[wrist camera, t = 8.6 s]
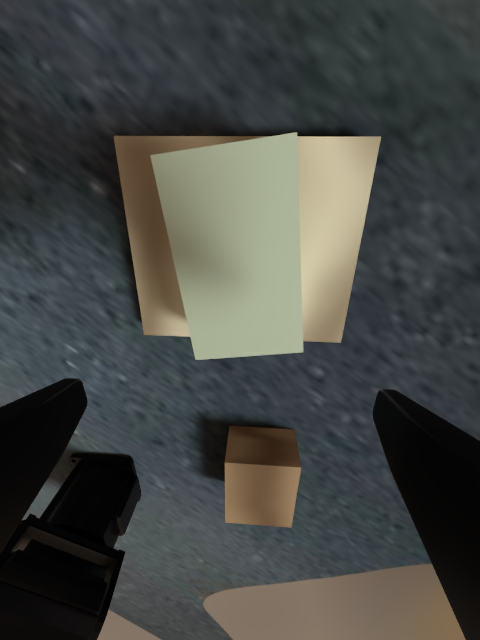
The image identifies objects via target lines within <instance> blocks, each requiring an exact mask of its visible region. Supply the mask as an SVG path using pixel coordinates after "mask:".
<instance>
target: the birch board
mask: <svg viewBox="0 0 480 640" xmlns="http://www.w3.org/2000/svg"><path fill="white" fill-rule="evenodd" d="M263 137H270V136H114V142H115V148H116V155H117V161H118V168H119V174H120V181H121V187H122V194H123V200H124V207H125V213H126V220H127V226H128V233H129V239H130V246H131V252H132V259H133V265H134V272H135V278H136V285H137V291H138V298H139V304H140V311H141V317H142V324H143V330H144V335H161V336H187V337H190V332H189V328H188V323H187V319H186V314H185V310H184V305H183V301H182V296H181V292H180V287H179V283H178V278H177V274H176V269H175V265H174V260H173V256H172V251H171V247H170V242H169V238H168V233H167V229H166V224H165V220H164V215H163V211H162V206H161V202H160V197H159V193H158V188H157V184H156V179H155V175H154V170H153V166H152V161H151V157H150V155H155V154H162V153H168V152H174V151H181V150H187V149H193V148H200V147H206V146H212V145H219V144H225V143H232V142H238V141H244V140H251V139H257V138H263ZM380 140H381V137H316V136H297V145H298V181H299V217H300V252H301V288H302V324H303V341H314V342H340V343H341V339H342V334H343V329H344V324H345V319H346V314H347V309H348V303H349V298H350V293H351V288H352V283H353V278H354V273H355V268H356V263H357V257H358V252H359V247H360V242H361V237H362V232H363V227H364V222H365V217H366V211H367V206H368V201H369V196H370V191H371V186H372V181H373V176H374V170H375V165H376V160H377V155H378V150H379V145H380Z"/></svg>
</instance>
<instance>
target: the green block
mask: <svg viewBox="0 0 480 640" xmlns="http://www.w3.org/2000/svg"><path fill="white" fill-rule="evenodd" d="M150 157H151V161H152V166H153V170H154V175H155V179H156V184H157V188H158V193H159V197H160V202H161V206H162V211H163V215H164V220H165V224H166V229H167V233H168V238H169V242H170V247H171V251H172V256H173V260H174V265H175V269H176V274H177V278H178V283H179V287H180V292H181V296H182V301H183V305H184V310H185V314H186V319H187V323H188V328H189V332H190V337H191V341H192V346H193V350H194V355H195V359H196V360H203V359H217V358H230V357H244V356H258V355H271V354H285V353H299V352H303V324H302V288H301V252H300V217H299V181H298V145H297V132H295V133H289V134H282V135H276V136H270V137H263V138H257V139H251V140H244V141H238V142H232V143H225V144H219V145H212V146H206V147H200V148H193V149H187V150H181V151H174V152H168V153H162V154H155V155H150Z"/></svg>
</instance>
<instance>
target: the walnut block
mask: <svg viewBox="0 0 480 640" xmlns="http://www.w3.org/2000/svg"><path fill="white" fill-rule="evenodd" d="M300 472H301V464H300V457H299V451H298V445H297V439H296V433H295V429H278V428H260V427H243V426H229V433H228V441H227V449H226V457H225V522H226V523H239V524H252V525H266V526H279V527H291V526H292V520H293V514H294V508H295V502H296V496H297V490H298V484H299V478H300Z"/></svg>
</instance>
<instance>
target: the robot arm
mask: <svg viewBox="0 0 480 640" xmlns="http://www.w3.org/2000/svg"><path fill="white" fill-rule="evenodd" d="M86 407H87V397H86V393H85V390H84V386H83V383H82V381H81V380H80V379H74V378H66V379H63V380H61V381H58V382H56V383H54V384H52V385H50V386H47V387H45V388H43V389H41V390H38V391H36V392H34V393H32V394H29V395H27V396H25V397H23V398H20V399H18V400H16V401H14V402H11V403H9V404H7V405H5V406H2V407H0V640H97V638H98V636H99V634H100V631H101V629H102V626H103V623H104V621H105V618H106V616H107V612H108V609H109V606H110V603H111V599H112V596H113V592H114V589H115V586H116V582H117V579H118V575H119V572H120V568H121V565H122V562H123V558H124V555H125V551H122V550H116V549H114V545H115V543H116V541H117V538H118V536H122V535H123V534H125V532H126V529H127V527H128V524H129V522H130V519H131V517H132V514H133V512H134V509H135V507H136V504H137V502H138V501H139V500H140V498H141V489H140V485H139V480H138V477H137V475H136V470H135V466H134V461H133V459H131V458H129V457H115V456H99V455H82V454H73V455H71V457H70V458H69V462H70V465H71V468H72V472H71V473H70V475H69V476H68V477H67V479H66V480H65V482H64V483H63V485H62V486H61V488H60V489H59V491H58V492H57V493H56V495H55V496H54V498H53V499H52V501H51V502H50V504H49V505H48V507H47V508H46V510H45V511H44V512H43V514H42V515H41V517H40V518H36V516H35V515H33V514H30V515H29V516H28V517H27V519H26V520H22V518H23V517H24V515H25V514H26V512H27V510H28V509H29V507H30V506H31V504H32V502H33V501H34V499H35V498H36V496H37V495H38V493H39V491H40V490H41V488H42V487H43V485H44V483H45V482H46V480H47V479H48V477H49V475H50V474H51V472H52V471H53V469H54V467H55V466H56V464H57V463H58V461H59V459H60V458H61V456H62V454H63V452H64V450H65V449H66V447H67V445H68V443H69V441H70V439H71V437H72V435H73V433H74V431H75V429H76V427H77V425H78V423H79V421H80V419H81V417H82V415H83V413H84V411H85V409H86ZM373 419H374V422H375V426H376V429H377V432H378V435H379V438H380V441H381V444H382V447H383V450H384V453H385V456H386V459H387V462H388V465H389V467H390V470H391V473H392V475H393V477H394V480H395V482H396V484H397V486H398V489H399V491H400V493H401V495H402V498H403V500H404V502H405V504H406V507H407V509H408V511H409V513H410V516H411V518H412V520H413V522H414V525H415V527H416V529H417V531H418V534H419V536H420V538H421V540H422V542H423V545H424V547H425V549H426V551H427V554H428V556H429V558H430V560H431V563H432V565H433V567H434V569H435V571H436V574H437V576H438V578H439V580H440V583H441V585H442V587H443V589H444V592H445V594H446V596H447V598H448V601H449V603H450V605H451V607H452V609H453V612H454V614H455V616H456V619H457V621H458V623H459V625H460V627H461V630H462V632H463V634H464V637H465V639H466V640H480V441H479V440H477V439H476V438H474V437H472V436H471V435H469V434H467V433H466V432H464V431H462V430H461V429H459V428H457V427H456V426H454V425H452V424H451V423H449V422H447V421H446V420H444V419H442V418H441V417H439V416H437V415H436V414H434V413H432V412H431V411H429V410H427V409H426V408H424V407H423V406H421V405H419V404H418V403H416V402H414V401H413V400H411V399H409V398H408V397H406V396H404V395H403V394H401V393H399V392H398V391H396V390H389V389H381V390H379V392H378V394H377V397H376V401H375V405H374V409H373ZM16 549H17V550H16ZM15 550H16V551H15Z"/></svg>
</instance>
